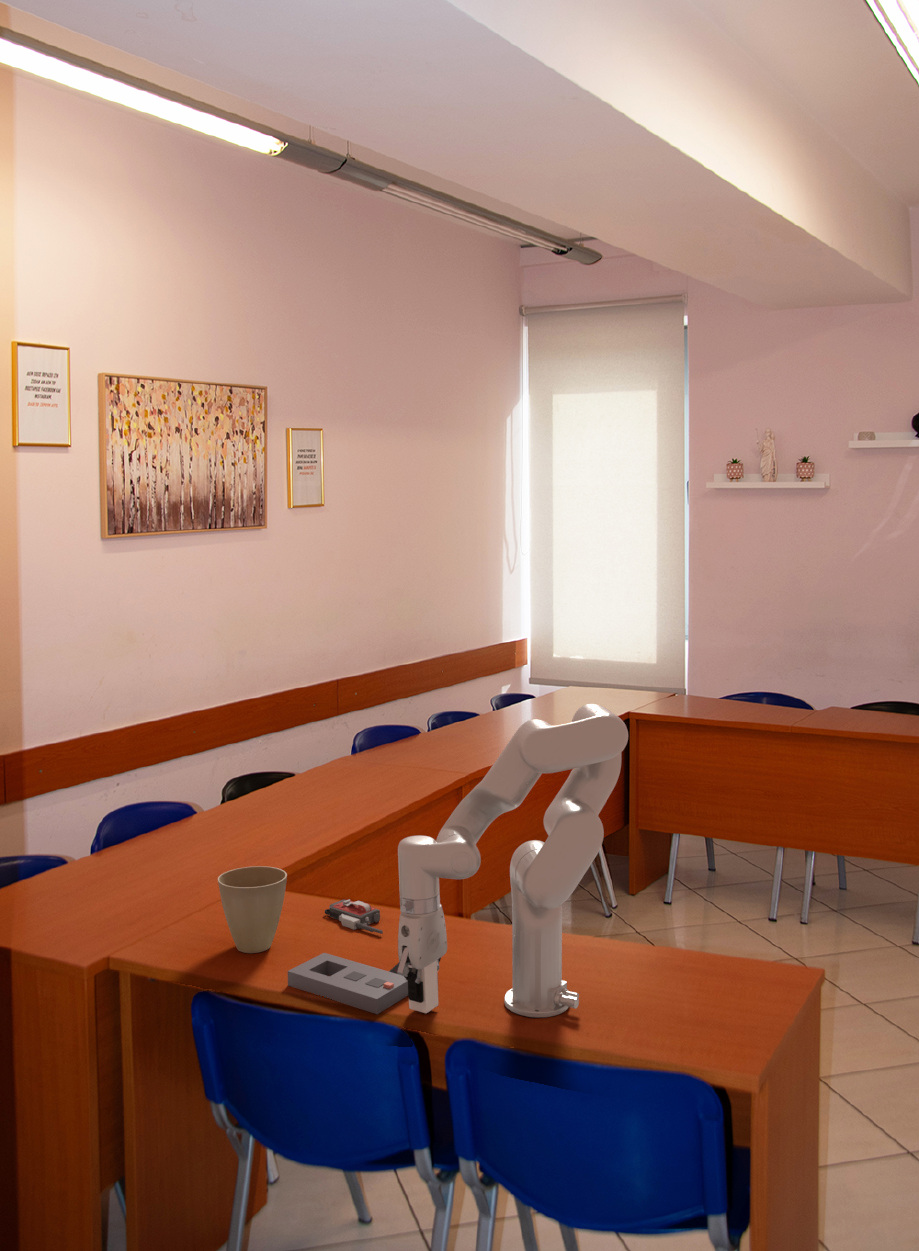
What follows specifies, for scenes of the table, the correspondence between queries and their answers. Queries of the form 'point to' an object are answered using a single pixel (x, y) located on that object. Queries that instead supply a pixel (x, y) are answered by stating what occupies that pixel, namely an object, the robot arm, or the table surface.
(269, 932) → the plant pot
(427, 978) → the block
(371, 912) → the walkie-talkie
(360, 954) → the table surface
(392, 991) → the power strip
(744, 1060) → the table surface
